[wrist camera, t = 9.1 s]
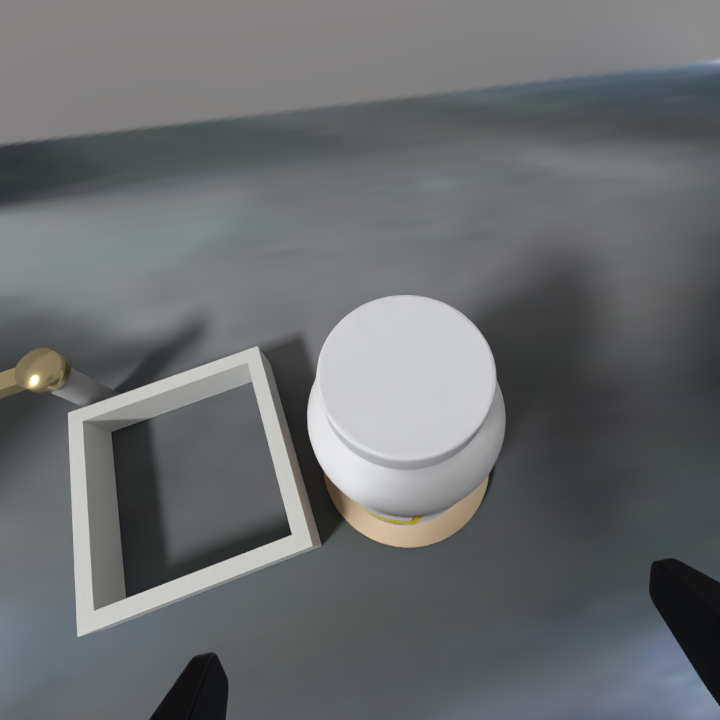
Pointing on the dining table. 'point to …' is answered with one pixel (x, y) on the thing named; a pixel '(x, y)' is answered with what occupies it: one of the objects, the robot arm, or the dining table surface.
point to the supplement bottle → (406, 408)
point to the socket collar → (99, 496)
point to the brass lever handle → (36, 373)
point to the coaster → (407, 533)
